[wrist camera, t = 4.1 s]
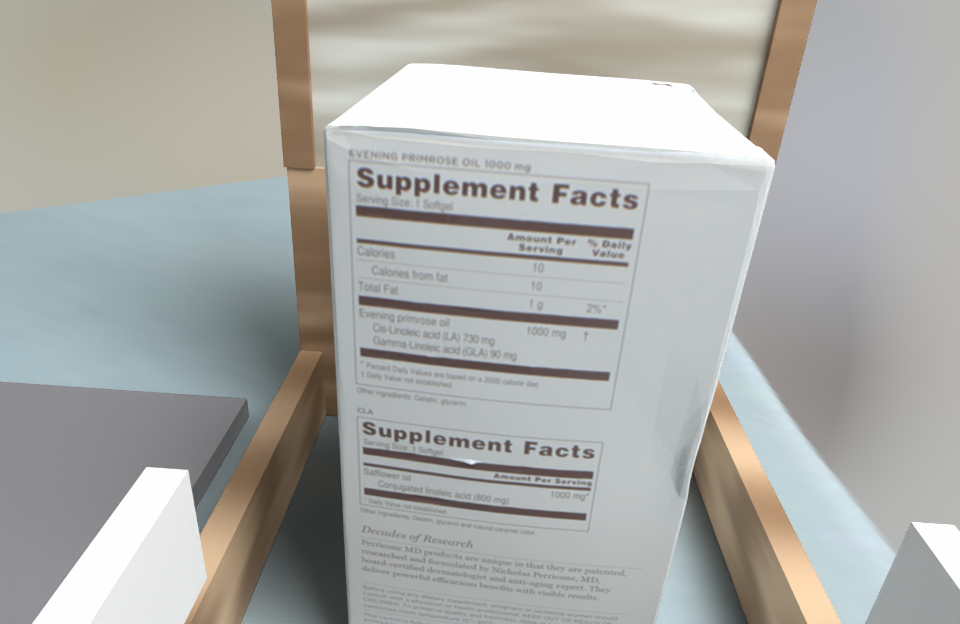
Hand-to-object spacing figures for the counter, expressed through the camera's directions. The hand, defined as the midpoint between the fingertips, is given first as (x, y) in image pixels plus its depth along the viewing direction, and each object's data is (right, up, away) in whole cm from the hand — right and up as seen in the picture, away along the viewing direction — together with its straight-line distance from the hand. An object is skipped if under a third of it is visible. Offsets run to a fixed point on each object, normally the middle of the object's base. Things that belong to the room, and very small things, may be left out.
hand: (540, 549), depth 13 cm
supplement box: (0, -5, +12) cm, 13 cm away
